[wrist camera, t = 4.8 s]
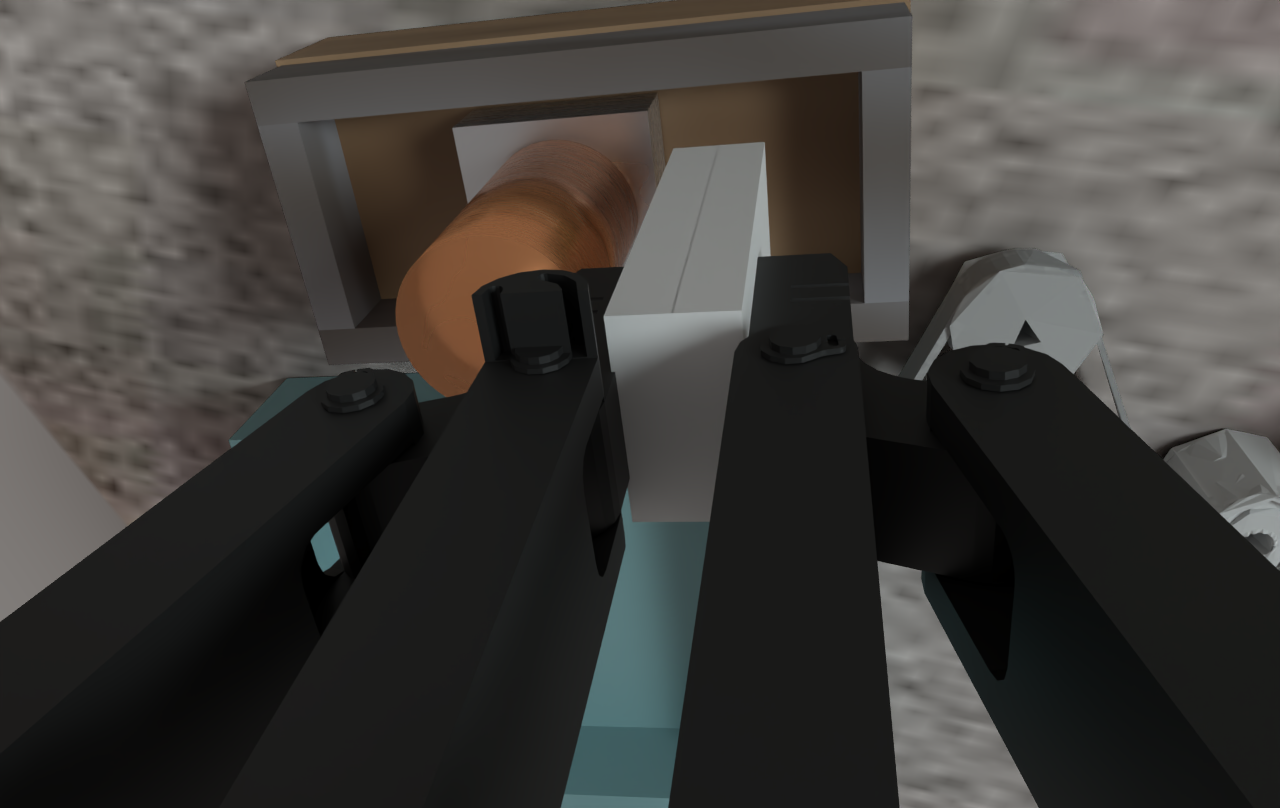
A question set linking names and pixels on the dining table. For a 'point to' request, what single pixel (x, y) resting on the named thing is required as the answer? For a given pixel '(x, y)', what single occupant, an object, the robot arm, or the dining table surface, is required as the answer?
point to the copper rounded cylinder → (529, 215)
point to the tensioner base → (586, 69)
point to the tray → (607, 647)
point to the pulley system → (1067, 331)
